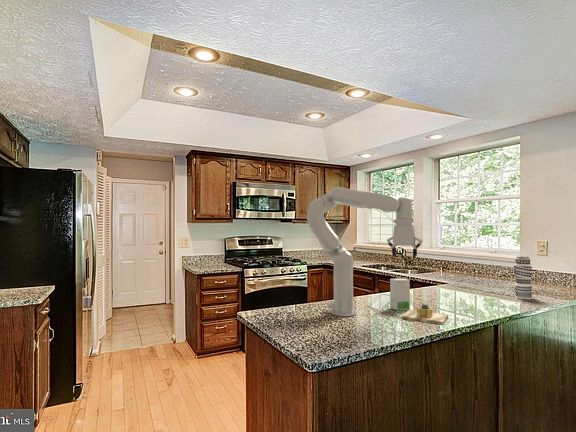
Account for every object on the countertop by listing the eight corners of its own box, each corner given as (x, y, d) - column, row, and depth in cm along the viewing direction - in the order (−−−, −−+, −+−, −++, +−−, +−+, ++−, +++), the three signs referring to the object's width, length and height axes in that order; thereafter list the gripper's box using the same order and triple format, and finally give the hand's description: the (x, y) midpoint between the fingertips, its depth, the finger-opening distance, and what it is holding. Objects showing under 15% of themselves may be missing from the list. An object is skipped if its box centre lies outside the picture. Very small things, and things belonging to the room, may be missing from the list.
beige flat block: (401, 318, 162) (401, 305, 162) (409, 312, 173) (409, 299, 174) (443, 324, 152) (442, 310, 152) (448, 317, 164) (448, 304, 164)
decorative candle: (517, 298, 204) (516, 256, 204) (512, 295, 212) (511, 255, 213) (535, 299, 201) (534, 257, 202) (529, 296, 210) (528, 255, 210)
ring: (416, 315, 162) (415, 308, 162) (419, 312, 167) (419, 305, 167) (430, 317, 158) (430, 310, 158) (433, 314, 164) (433, 307, 164)
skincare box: (396, 310, 177) (396, 280, 177) (389, 307, 183) (389, 278, 183) (410, 309, 179) (410, 279, 179) (403, 306, 185) (402, 277, 186)
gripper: (384, 222, 173) (384, 256, 173) (420, 222, 164) (420, 258, 163) (389, 222, 180) (389, 255, 179) (423, 222, 170) (424, 256, 170)
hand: (404, 256), depth 171 cm, fingers open, 9 cm apart
